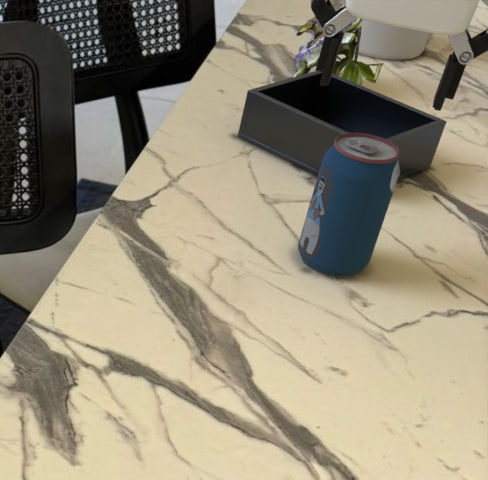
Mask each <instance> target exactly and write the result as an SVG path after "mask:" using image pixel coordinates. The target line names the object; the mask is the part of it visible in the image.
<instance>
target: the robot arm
mask: <svg viewBox="0 0 488 480" xmlns="http://www.w3.org/2000/svg"><path fill="white" fill-rule="evenodd" d="M480 1H481V2H482V3H483V4H485V6H487V7H488V0H345V2H346V3H345V2H344V3H343V4H342V5H341V6H340V7H338V8H337V9H335V7H334V5H333V4H332V2H331V0H309V2H310V10H311V12H312V13H313V15H314V17H315V16H316V18H317V20H318V24H319V25H320V27H321V28H322V29H323V34H324V35H325V37H324V41H323V45H322V48H321V52H320V55H319V59H318V63H317V66H315V71H320V72H323V74H322V77H321V81H320V84H319V85H321V86H326V85H328V84H329V81H330V79H331V77H332V74H333V70H334V67H335V63H336V61H338V58H337V56H338V57H339V55H338V53H339V50H340V46H341V43H342V39H343V36H344V32H342V31H343V28H345V27H346V26H347V25H349V24H350V23H351V22H353V21H354V20H355V19H357V18H360V19H364V20H368V21H372V22H377V23H382V24H387V25H392V26H397V27H402V28H407V29H412V30H417V31H422V32H427V33H429V34H433V35H439V36H447V38H448V40H449V42H450V45H451V47H452V50H453V51H452V53H449V55H448V58H447V61H446V64H445V67H444V69H443V71H442V75H441V78H440V80H439V83H438V86H437V88H436V91H435V94H434V97H433V101H432V102H433V103H432V106H431V107H432V108H433V110H434V111H438V112H441V111H442V108H443V106H444V103H445V100H446V99H448V100H454V98H455V96H456V93H457V91H458V89H459V86H460V82H461V80H462V77H463V75H464V72H465V70H466V66H467V65H469V64H470V63H472V61H473V60H474V59H476V58H477V57H480V56H482V55H483V54H484V53H487V52H488V28H486V29H485V30H483V31H481V32H479V33H478V34H476V35H474V36H473V37H472V34H471V32H470V30H469V26H470V24H471V22H472V20H473V18H474V16H475V13H476V11H477V9H478V6H479V3H480ZM322 29H321V30H322Z"/></svg>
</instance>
